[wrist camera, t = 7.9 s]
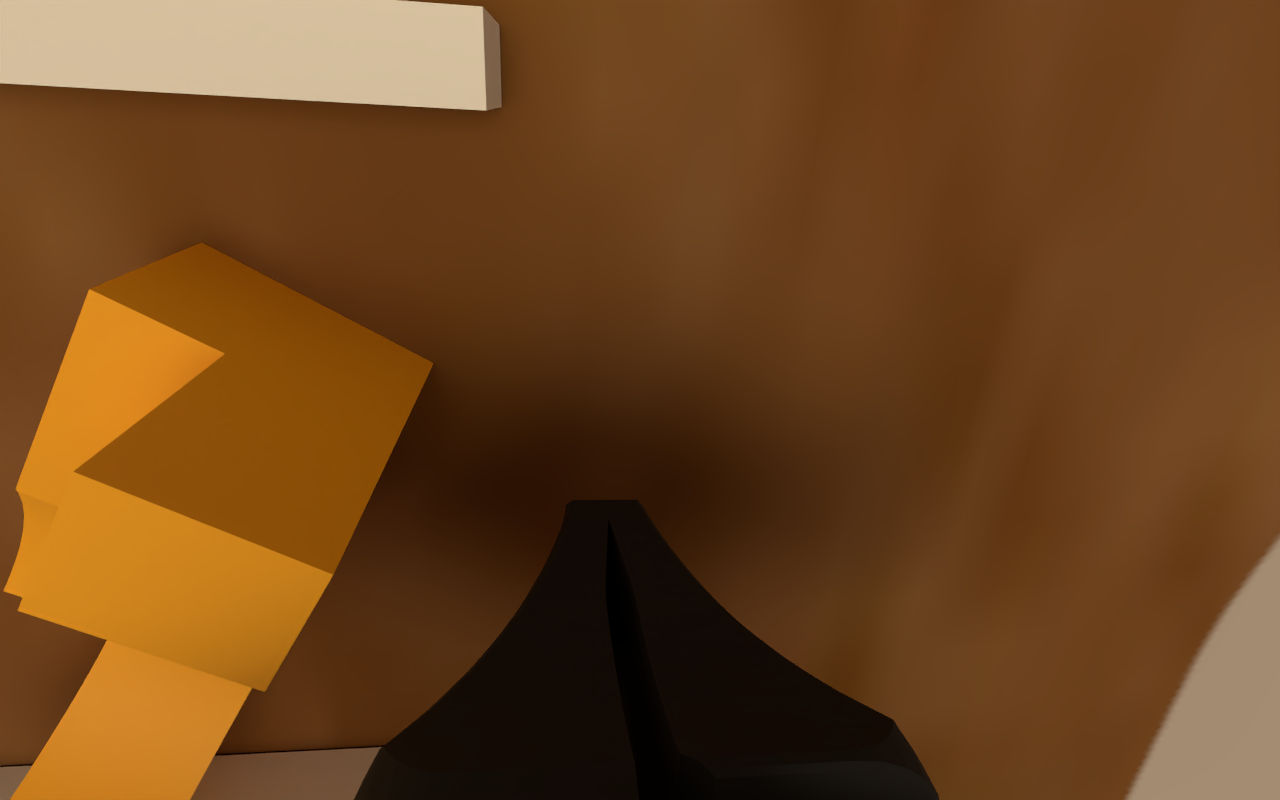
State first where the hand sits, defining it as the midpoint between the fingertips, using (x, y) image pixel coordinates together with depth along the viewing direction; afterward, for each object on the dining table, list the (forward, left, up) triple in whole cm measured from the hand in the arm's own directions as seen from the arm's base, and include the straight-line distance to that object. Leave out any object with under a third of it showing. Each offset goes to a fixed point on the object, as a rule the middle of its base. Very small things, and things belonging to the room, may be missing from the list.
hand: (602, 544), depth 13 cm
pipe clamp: (-1, +8, -2) cm, 9 cm away
